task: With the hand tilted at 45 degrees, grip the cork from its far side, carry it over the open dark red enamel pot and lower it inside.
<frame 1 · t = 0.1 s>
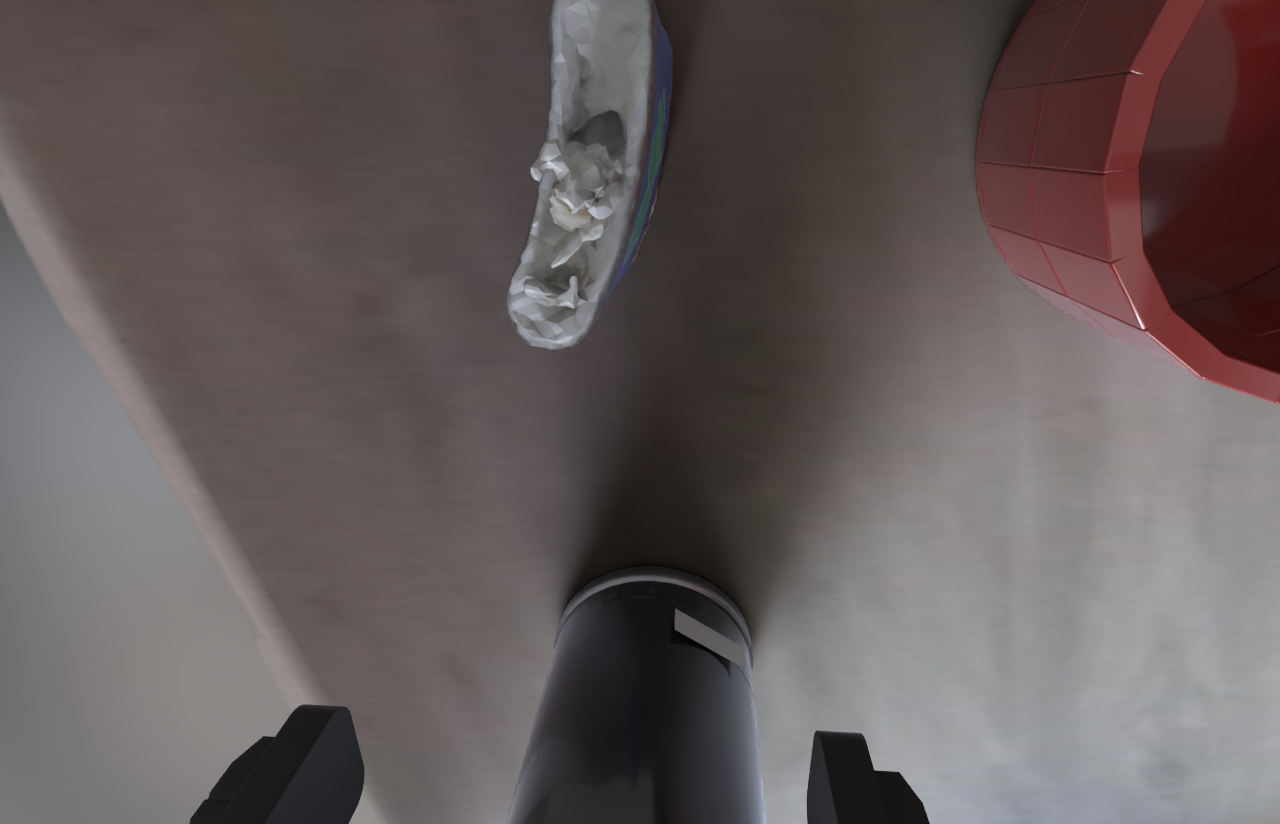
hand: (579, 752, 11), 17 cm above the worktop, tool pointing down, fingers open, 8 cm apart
pot: (1190, 123, 22), on the worktop
flask: (622, 163, 24), on the worktop
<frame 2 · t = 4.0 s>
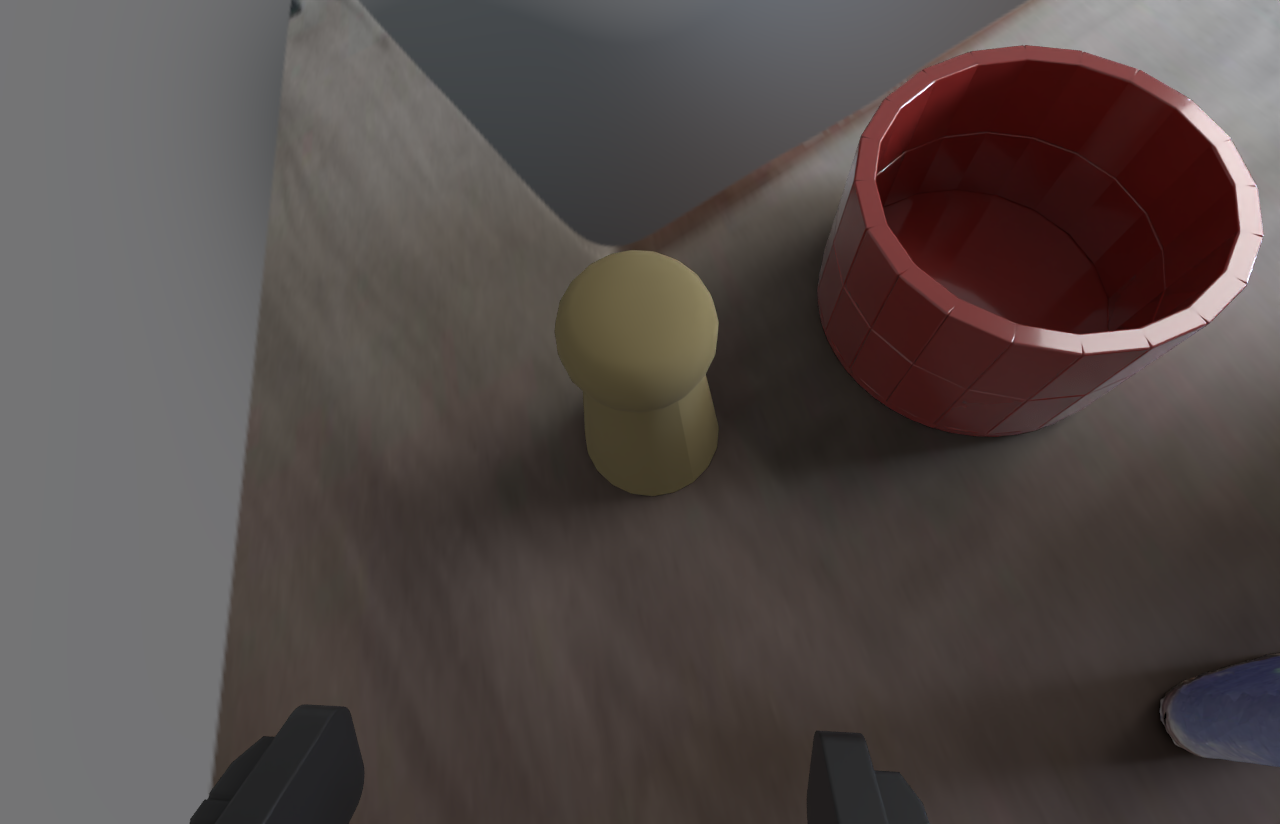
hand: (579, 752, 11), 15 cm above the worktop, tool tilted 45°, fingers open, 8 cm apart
pot: (964, 301, 31), on the worktop
flask: (1277, 699, 24), on the worktop
cork: (651, 432, 30), on the worktop
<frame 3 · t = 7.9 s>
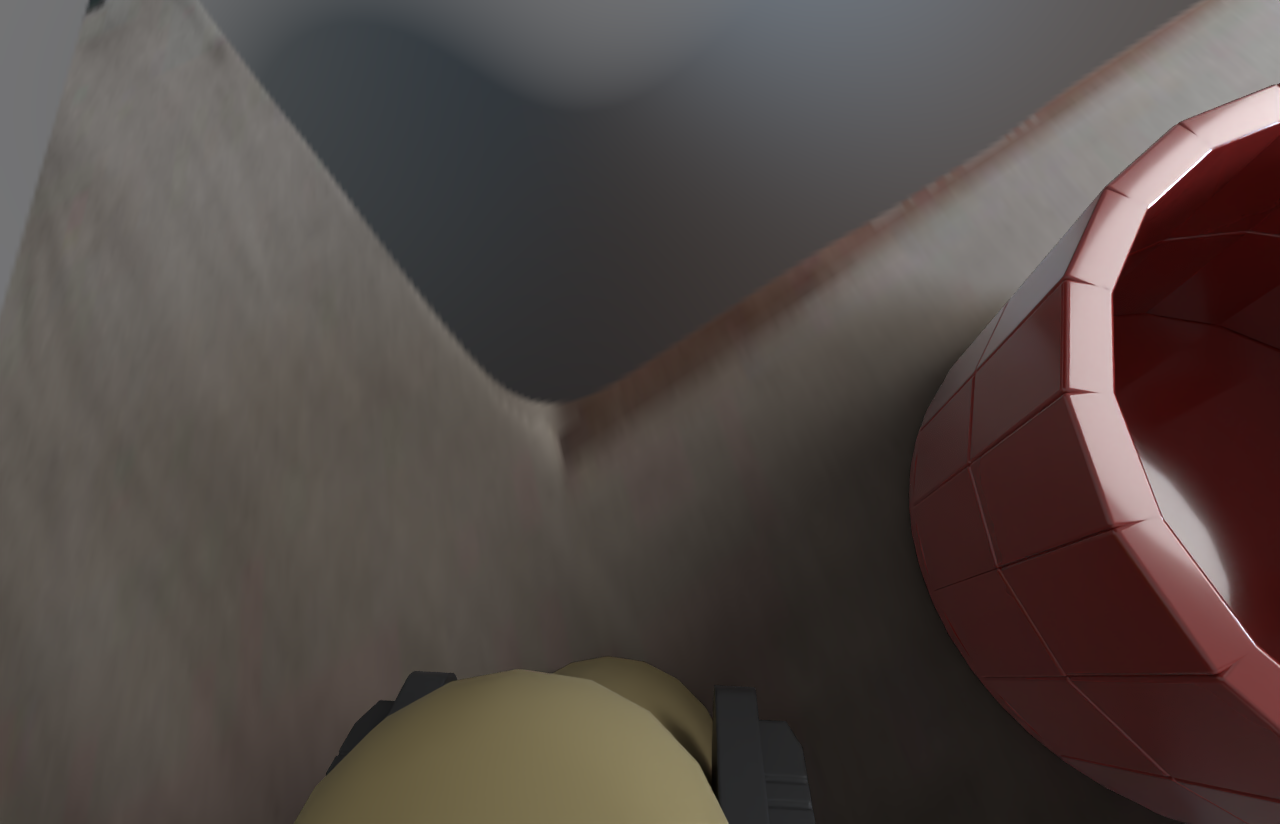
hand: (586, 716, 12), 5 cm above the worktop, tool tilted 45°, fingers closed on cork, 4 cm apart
pot: (1179, 528, 17), on the worktop
cork: (608, 790, 16), on the worktop, touching gripper
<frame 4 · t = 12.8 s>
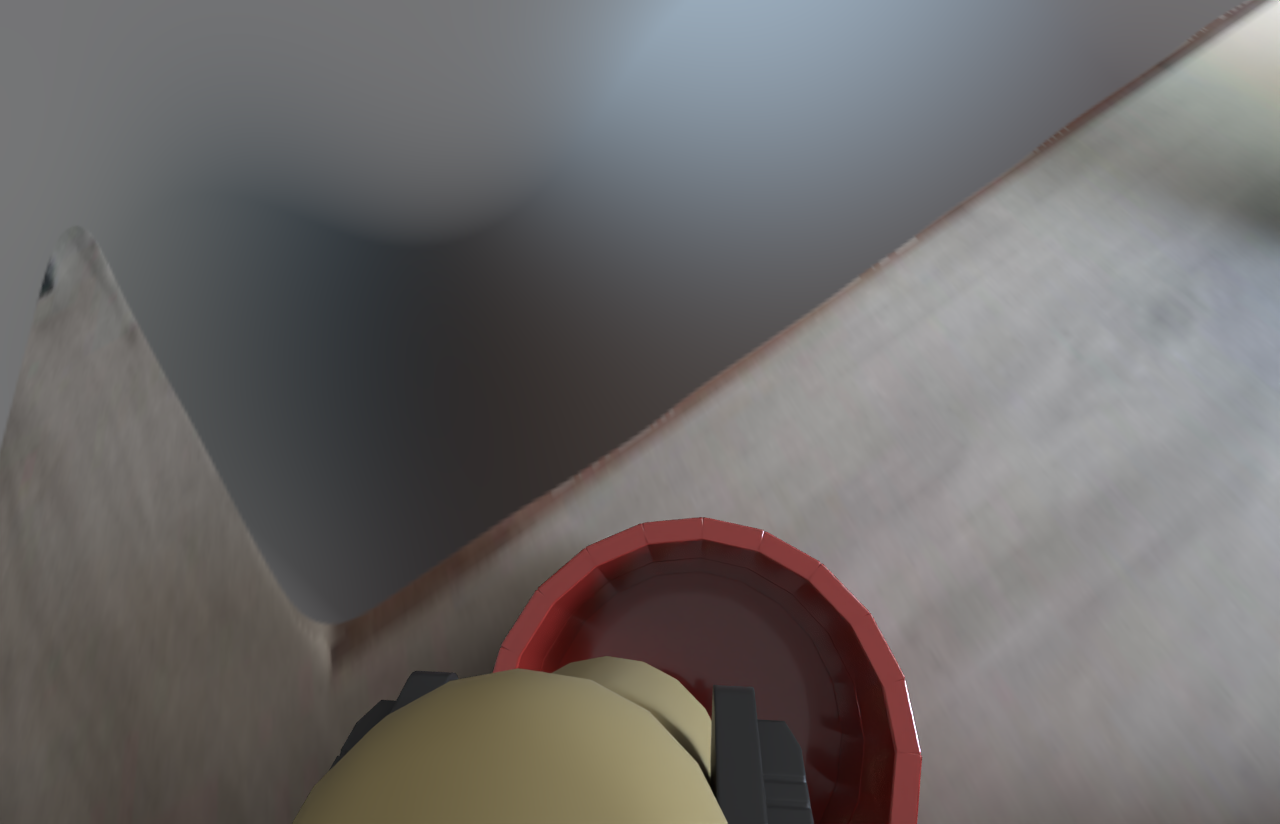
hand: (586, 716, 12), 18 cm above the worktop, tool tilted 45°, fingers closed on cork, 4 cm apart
pot: (692, 719, 28), on the worktop
cork: (606, 790, 16), point 13 cm above the worktop, touching gripper
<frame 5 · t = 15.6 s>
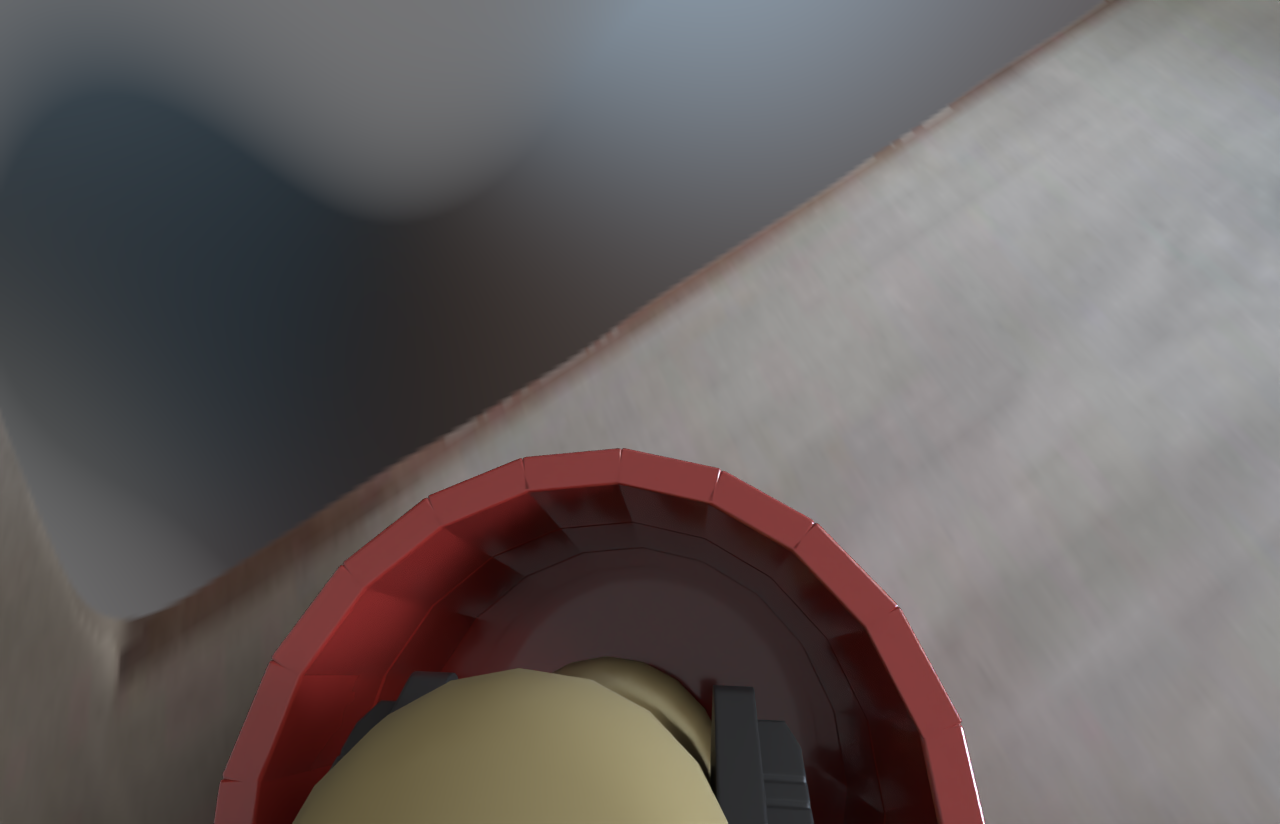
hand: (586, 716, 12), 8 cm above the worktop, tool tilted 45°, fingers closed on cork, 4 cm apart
pot: (626, 762, 19), on the worktop
cork: (606, 790, 16), point 3 cm above the worktop, touching gripper
when the fingers open (8 cm above the worktop, at t = 17.9 s): cork drops 3 cm, resting on pot.
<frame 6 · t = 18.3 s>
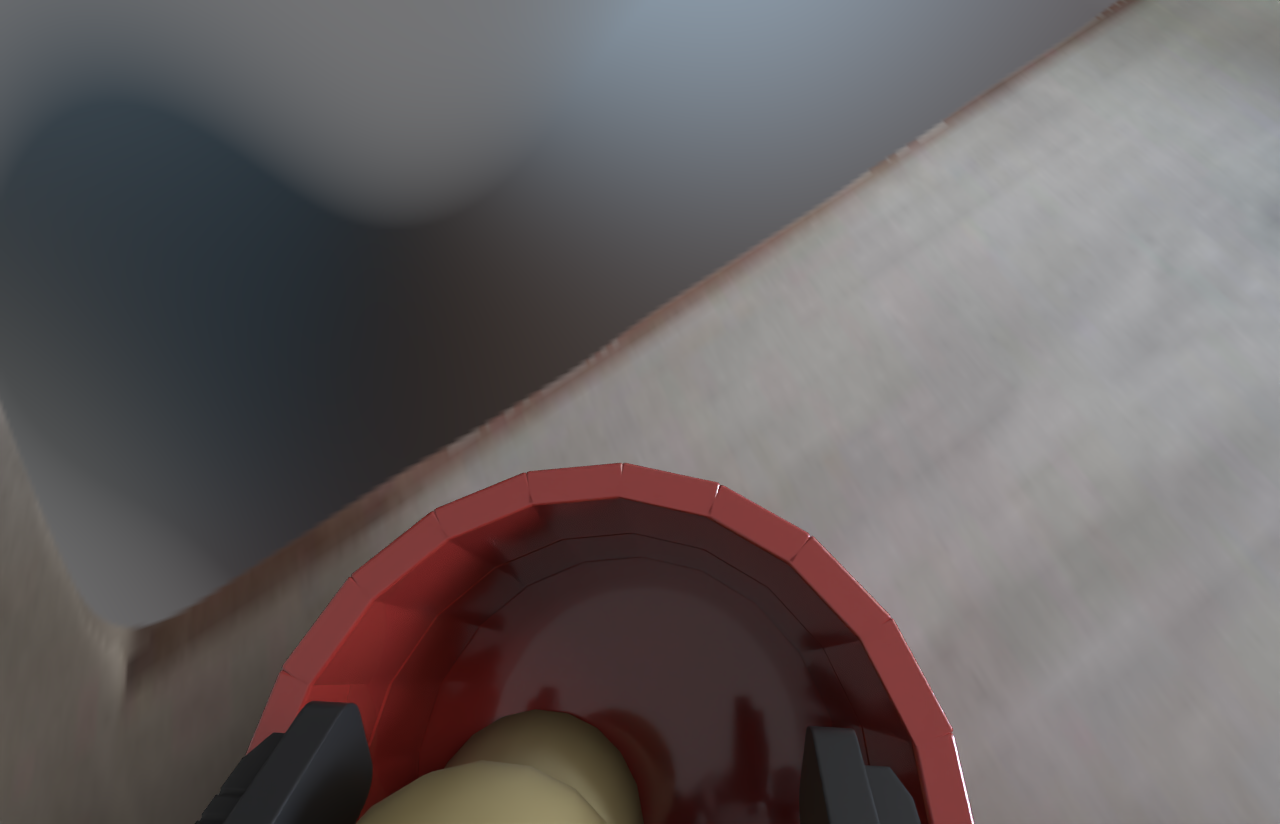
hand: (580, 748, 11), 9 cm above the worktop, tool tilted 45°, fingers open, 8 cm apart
pot: (626, 769, 19), on the worktop
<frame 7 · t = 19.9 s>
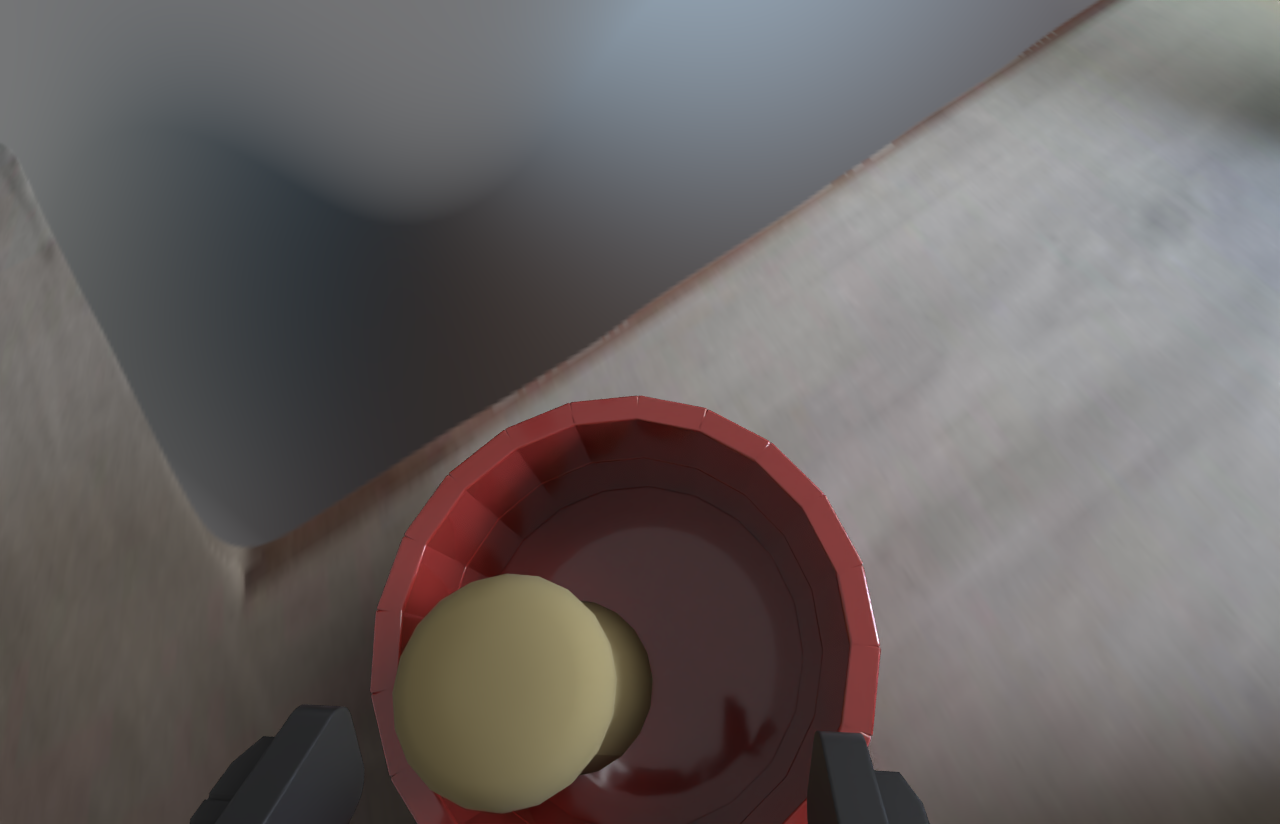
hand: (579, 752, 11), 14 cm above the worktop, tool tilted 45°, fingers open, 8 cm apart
pot: (639, 643, 25), on the worktop
cork: (571, 684, 24), resting on pot
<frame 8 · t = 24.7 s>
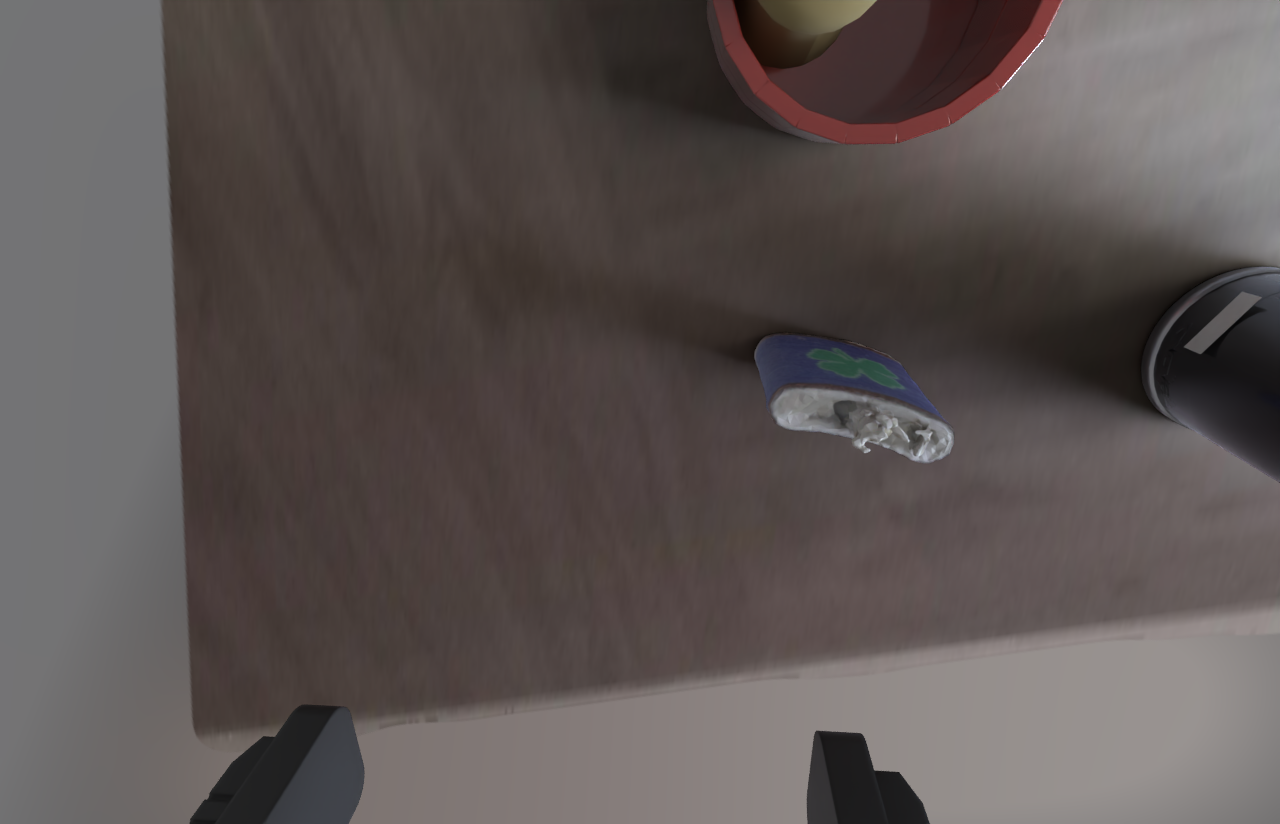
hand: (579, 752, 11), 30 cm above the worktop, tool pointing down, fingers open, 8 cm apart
flask: (829, 361, 39), on the worktop
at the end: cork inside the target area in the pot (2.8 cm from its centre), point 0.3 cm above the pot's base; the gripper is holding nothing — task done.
